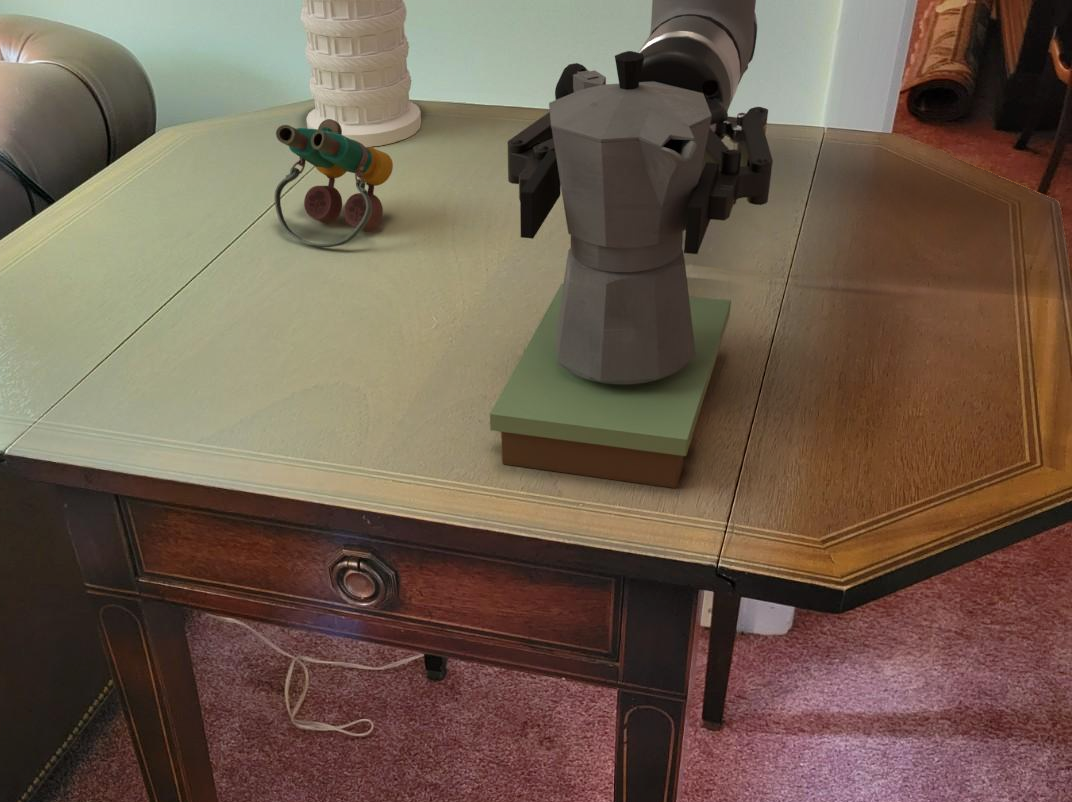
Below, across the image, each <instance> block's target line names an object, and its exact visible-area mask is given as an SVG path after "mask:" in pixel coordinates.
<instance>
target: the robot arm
mask: <svg viewBox="0 0 1072 802" xmlns="http://www.w3.org/2000/svg"><path fill="white" fill-rule="evenodd" d="M756 2H757V0H651V19H650V20H651V21H650V33H649V36H648V37H647V39H646V40H645V41H644V43H643V44H642V46H641V48H639V50H638V52H637V53H641V54H643V55H644V61H643V66H642V71H641V76H640V81H639V82H653V81H654V82H658V83H662V84H666V85H670V86H675V87H679V88H683V89H687V90H691V91H696V92H700V93H703V94H704V97H705V99H706V102H707V104H708V107H709V110H710V112H711V115H712V119H711V123H710V128H709V133H708V138H707V143H706V148H705V153H704V157H703V162H702V167H701V172H700V177H699V182H698V184H697V185H696V188H695V190H694V192H693V195H692V197H691V200H690V202H689V204H688V209H687V221H686V230H685V235H684V247H683V253H684V254H691V255H698V253H699V251H700V248H701V246H702V243H703V240H704V238H705V235H706V232H707V230H708V227H709V224H710V222H711V220H713V221H726V220H727V219H730V216H731V213H732V210H733V207H734V206H735V205H736V204H737V200H739V199H744V198H746V201H747V203H749V204H751V205H755V206H763V205H766V204H767V203H768V201H769V193H770V186H771V179H772V178H771V177H772V170H773V162H774V160H773V157H772V154H771V150H770V146H769V143H768V139H767V135H766V133H767V125H768V117H769V116H768V115H769V109H768V108H767V107H766V108H765V107H762V106H754V107H751V108H749V109H748V110H747V112H746V113H745V112H739V113H737V115H736V116H729V113H728V111H729V109H730V106H731V104H732V102H733V99H734V97H735V95H736V93H737V90H738V87H739V84H740V82H741V80H742V78H743V76H744V74H745V73H746V72H747V71H748V68H749V64H750V63H751V62H752V61H753V58H754V56H755V50H756V44H757V37H758V19H757V14H756V5H757V4H756ZM725 137H728V138H729V141H730V142H731V143H733V149H730V148H728V146H727V145H726V144H725V143H724V142H723V139H724V138H725ZM507 181H508V182H509V183H510V184H514V185H518V200H519V208H520V209H519V210H520V211H519V212H520V213H519V214H520V215H519V216H520V221H519V222H520V238H522V239H534V238H535V237H536V235H537V234H538V232H539V230H540V228H541V227H542V225H543V223H545V220H547V217H548V216H549V215H550V213H551V211H552V210H553V208H554V206H555V205H556V203H557V201H558V200H559V198H560V196H561V184H560V177H559V171H558V165H557V159H556V152H555V146H554V140H553V133H552V128H551V121H550V111H548V112H547V113H546V114H544V115H543V116H541V117H540V118H538V119H537V120H536V121H534V122H533V123H531V124H530V125H528V126H527V127H526V128H524V129H523V130H522V131H520V132H518V133H516V135H514V136H513V137H512V138H509V140H507Z"/></svg>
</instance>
